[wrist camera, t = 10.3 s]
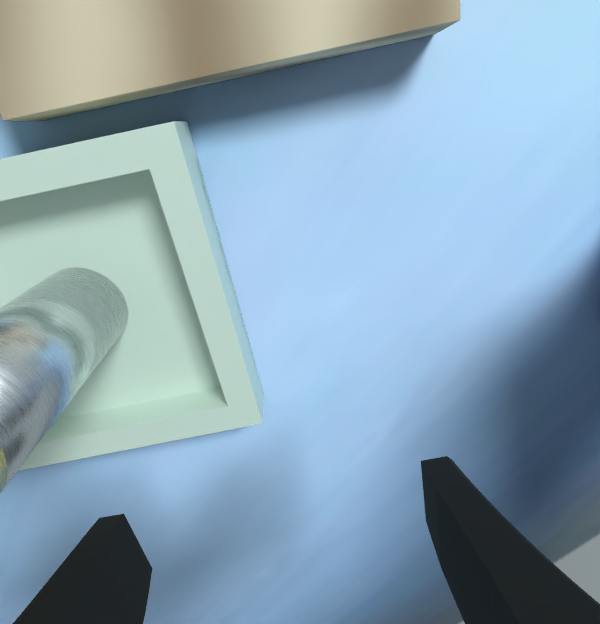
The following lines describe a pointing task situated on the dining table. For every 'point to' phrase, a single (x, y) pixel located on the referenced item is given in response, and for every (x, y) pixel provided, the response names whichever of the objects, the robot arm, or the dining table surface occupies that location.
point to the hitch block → (181, 44)
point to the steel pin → (51, 354)
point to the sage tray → (134, 288)
